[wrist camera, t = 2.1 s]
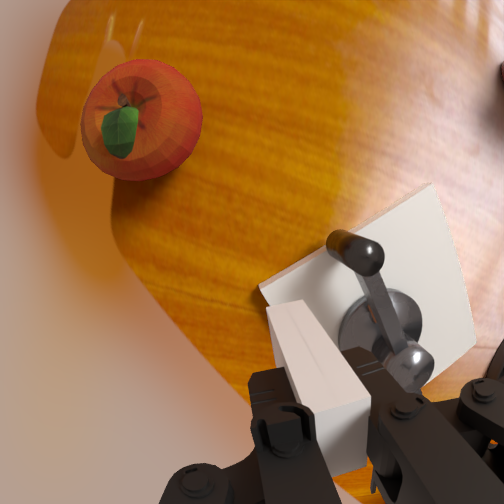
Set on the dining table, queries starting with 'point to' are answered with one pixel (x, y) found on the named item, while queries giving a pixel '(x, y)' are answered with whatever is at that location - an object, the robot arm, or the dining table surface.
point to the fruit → (141, 120)
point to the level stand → (392, 276)
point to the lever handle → (381, 314)
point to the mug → (503, 71)
